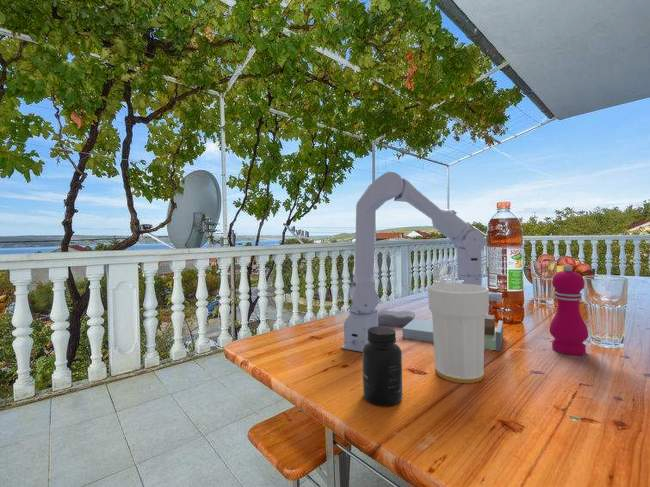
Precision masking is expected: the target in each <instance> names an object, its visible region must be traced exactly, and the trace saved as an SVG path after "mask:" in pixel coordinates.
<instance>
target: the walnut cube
mask: <svg viewBox="0 0 650 487" xmlns="http://www.w3.org/2000/svg"><path fill="white" fill-rule="evenodd" d="M495 320H496V318H495V315H494V314H493V315H492V314H486V315H485V324H484V334H485V335H494V332H495V328H496V323H495V322H496V321H495Z"/></svg>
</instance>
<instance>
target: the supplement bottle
mask: <svg viewBox="0 0 650 487" xmlns="http://www.w3.org/2000/svg"><path fill="white" fill-rule="evenodd" d="M367 340H368V342H369V343H367V344H366V345H365V346H364V347H363V350H362V352H361V353H362V357H361V358H362V392H363V397H364V398H365V400H366V401H367V402H368V403H370V404H372V405H375V406H378V407H392V406H395V405H397V404H399V403H400V402H401V401H402V399H403V354H402V349H401V347H400V346H399V345H398V344H397V343H396V342H397V338H396V330H395V329H394V328H392V327H391V326H381V325H378V327H372V328H369V329H368V337H367Z"/></svg>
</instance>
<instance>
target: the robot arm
mask: <svg viewBox="0 0 650 487" xmlns="http://www.w3.org/2000/svg"><path fill="white" fill-rule="evenodd" d="M390 200H393V202H403V203H404V202H405V203H407V204H409V205H410V206H412V207H413V208H415V209H417V211H419V212H421V213H422V214H424V215H425V216H427V218H429V219H431V224H432V227H433V228H434V229H435V230H437V231H438V232H440V233H441V234H442V235H443V236H445V237H446V238H447V239H449V240H450V241H451V242H452V244H453V246H454V248H456V250H457V252H456V254H457V259H456V260H457V280H458V279H459V280H464V282H462V283H461V284H474V285H479V286H483V276H482V275H483V272H482V271H483V270H482V265H483V264H482V255H483V254H482V253H483V252H482V251H483V248H485V246H486V244H487V239H486V238H485V236H484V233H483V232H482V231H481V230H480V229H477V228H472V224H471V223H470V222H466V221H464V220H463V219H462V218H460V217H459V216H458V215H457V214H458V213H457V211H455V209H453V210H452V209H451V210H450V209H448V208H445V209H441V208H439V206H437V205H436V204H435V203H433V201H431V200H430V199H429V198H428V197H427V196H426V195H425V194H423V193H422V192H421V191H420V190H418V189H417V188H416V187H415V186H414V185H413V184H412V183H411V182H410V181H409V180H407V179H406V178H404V177H403V178H402V176H401V175H399V173H397V172H395V171H387V172H384V173H383V174H381V175H380V176H379V177H377V178H376V179H374V180H373V181H372V183H370V184H369V185H368V187H366V189H365V191H364V192H363V193H362V194H361V196H360V198H359V199H358V200H357V203H356V205H355V237H354V238H355V240H354V241H355V242H354V246H355V248H354V274H353V277H352V278H353V279H352V285H351V287H350V288H349V292H348V296H349V299H350V300H351V302H352V303H351V305H350V306H349V309H348V310H349V311H348V314H349V315H348V316H347V317H346V318H345V320H344V323H343V337H344V338H343V339H344V342H343V343H344V344H342V345H341V349H343V350H350V351H355V352H361V353H362V350H363V347H364V346H365V345H366V344H367V343H369V342H368V340H367V337H368V329H369V328H372V327H378V326H379V325H378V312H379V311H378V310H379V309H378V303H379V296H378V293H377V291H376V282H375V276H374V272H375V271H374V268H375V267H374V266H375V263H374V261H375V233H376V232H375V228H376V224H375V222H376V211H378V209H379V208H381V207H382V206H383V205H384V204H385V203H386V202H388V201H390ZM490 301H491V302H497V303H502V301H503V293H502V292H494V291H489V302H490Z"/></svg>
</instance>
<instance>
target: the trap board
mask: <svg viewBox="0 0 650 487" xmlns="http://www.w3.org/2000/svg"><path fill="white" fill-rule="evenodd" d="M496 325H497V326H496V327H495V332H494V335H485V334H484V350H486V349H489V350H488V351H493V350H496V351H495V352H500V351H502V345H503V342H504V320H500V319H499V320H498V322H497V324H496ZM401 330H402V338H404V339H410V340H417V341H423V342H424V341H425V342H431V343H434V338H433V319H432V320H430V319H420V318H415V319H413V320H412V321H411V322H409V323H408V324H407V325H406V326H405V327H402V329H401Z"/></svg>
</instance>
